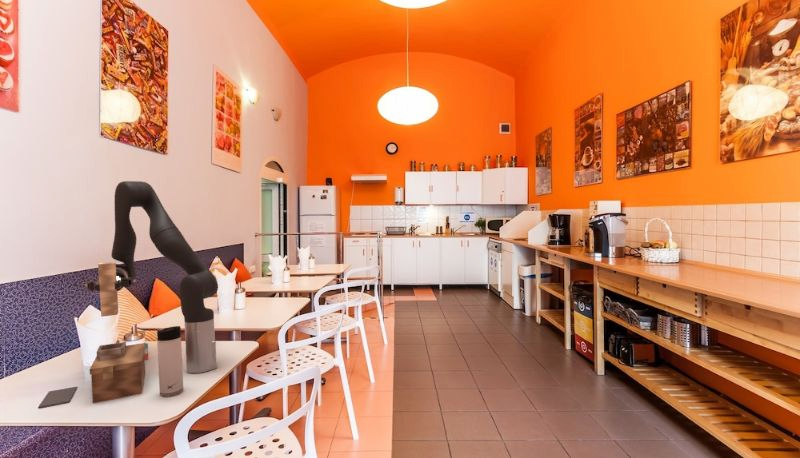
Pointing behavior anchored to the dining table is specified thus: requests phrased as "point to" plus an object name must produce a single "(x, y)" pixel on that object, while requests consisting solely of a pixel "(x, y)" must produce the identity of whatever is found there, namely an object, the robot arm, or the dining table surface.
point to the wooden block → (108, 289)
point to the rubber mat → (58, 397)
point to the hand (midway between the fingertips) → (107, 286)
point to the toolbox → (118, 371)
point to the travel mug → (170, 361)
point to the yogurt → (146, 351)
